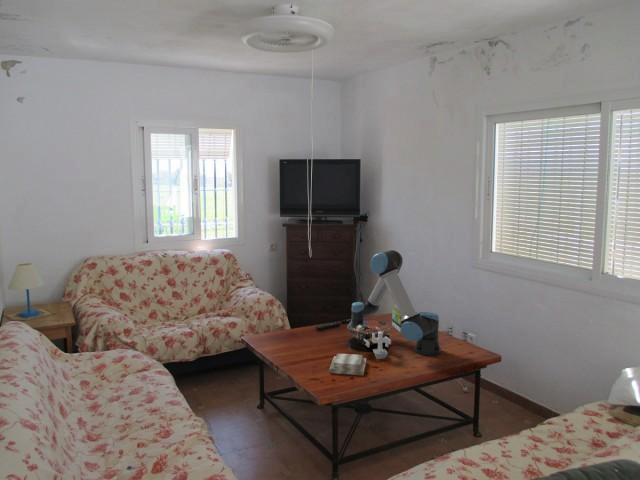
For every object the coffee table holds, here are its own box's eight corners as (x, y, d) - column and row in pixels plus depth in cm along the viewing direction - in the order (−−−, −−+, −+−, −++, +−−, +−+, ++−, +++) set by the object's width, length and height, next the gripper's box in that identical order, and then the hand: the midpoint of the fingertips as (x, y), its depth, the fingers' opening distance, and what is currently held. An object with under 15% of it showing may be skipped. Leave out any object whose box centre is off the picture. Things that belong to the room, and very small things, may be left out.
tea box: (391, 326, 351) (391, 305, 349) (405, 325, 354) (405, 304, 352) (400, 333, 337) (400, 311, 335) (414, 331, 339) (414, 310, 337)
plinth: (366, 362, 286) (366, 353, 286) (363, 375, 269) (363, 366, 268) (334, 360, 289) (334, 351, 289) (329, 373, 272) (329, 363, 271)
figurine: (389, 359, 291) (390, 333, 289) (373, 360, 290) (373, 334, 288) (386, 354, 298) (387, 329, 296) (370, 355, 297) (370, 330, 295)
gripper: (382, 335, 317) (399, 347, 297) (345, 340, 308) (359, 352, 289) (382, 324, 316) (399, 334, 296) (345, 328, 307) (359, 339, 288)
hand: (379, 343), depth 292 cm, fingers open, 13 cm apart
